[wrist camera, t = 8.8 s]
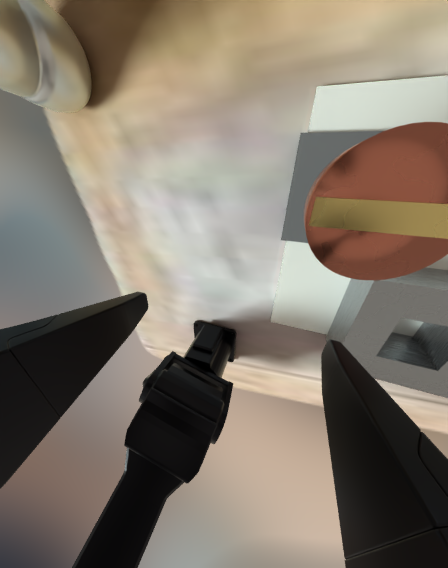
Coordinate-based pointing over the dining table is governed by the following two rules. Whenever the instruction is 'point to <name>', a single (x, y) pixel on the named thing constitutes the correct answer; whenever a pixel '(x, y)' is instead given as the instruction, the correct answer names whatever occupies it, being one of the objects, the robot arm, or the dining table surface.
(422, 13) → the dining table surface
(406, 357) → the metal block
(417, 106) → the board
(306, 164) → the pad
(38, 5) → the plastic bottle
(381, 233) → the copper disc with stripe
